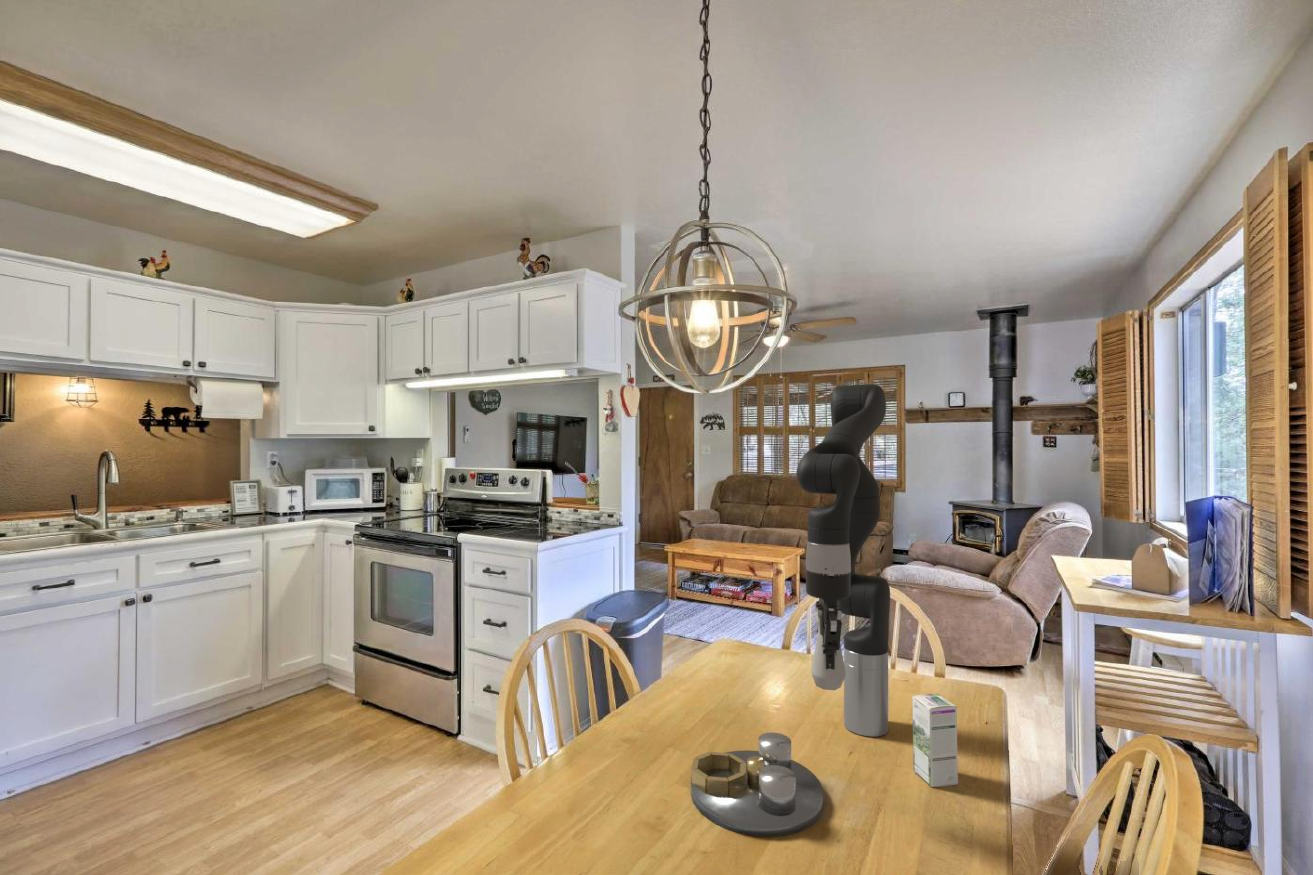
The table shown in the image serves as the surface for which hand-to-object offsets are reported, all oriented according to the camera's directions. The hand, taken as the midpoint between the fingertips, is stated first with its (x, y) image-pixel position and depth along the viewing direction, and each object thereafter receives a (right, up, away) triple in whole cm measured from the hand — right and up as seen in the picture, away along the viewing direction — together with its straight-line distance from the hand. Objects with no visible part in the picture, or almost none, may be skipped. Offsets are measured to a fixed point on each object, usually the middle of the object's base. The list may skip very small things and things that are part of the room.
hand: (827, 667), depth 105 cm
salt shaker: (0, -3, 0) cm, 3 cm away
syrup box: (+22, -24, +7) cm, 33 cm away
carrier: (-12, -23, +2) cm, 26 cm away
